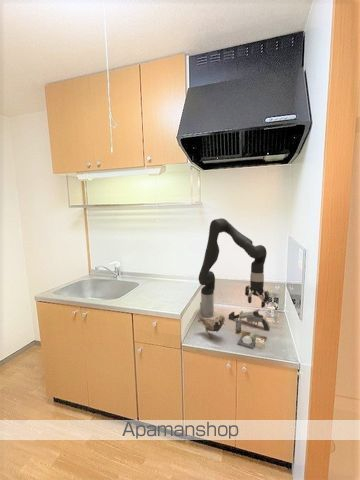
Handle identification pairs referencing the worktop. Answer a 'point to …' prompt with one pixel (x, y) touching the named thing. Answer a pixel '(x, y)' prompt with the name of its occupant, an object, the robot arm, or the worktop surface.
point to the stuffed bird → (212, 323)
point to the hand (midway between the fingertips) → (256, 305)
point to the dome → (247, 340)
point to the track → (251, 335)
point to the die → (259, 343)
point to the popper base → (246, 344)
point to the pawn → (238, 326)
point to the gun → (251, 318)
